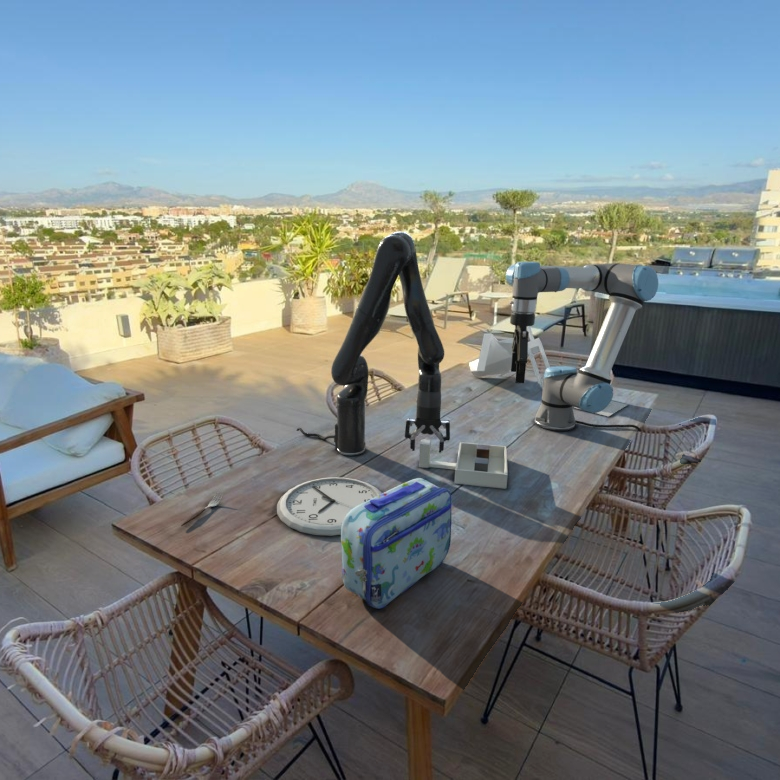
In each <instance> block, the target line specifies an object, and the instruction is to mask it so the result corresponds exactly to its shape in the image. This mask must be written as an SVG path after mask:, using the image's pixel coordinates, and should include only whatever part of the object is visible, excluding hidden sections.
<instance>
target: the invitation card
mask: <svg viewBox="0 0 780 780" xmlns="http://www.w3.org/2000/svg"><path fill="white" fill-rule="evenodd" d="M627 406H628V404H627V403H623V402H618V401H614V400H611V402H610V403H609V405H608V406H607V407H606V408H605V409H604V410H602V411H600V412H598V413H594V415H595V414H596V415H600V416H603V417H608V418H609V417H611V416H612V415H614V414H616V413H617V412H619V411H620V410H622V409H624V408H625V407H627ZM573 409H575V410H580V411H582V410H581V409H579V408H577V407H574V406H573Z"/></svg>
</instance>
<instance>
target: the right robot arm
mask: <svg viewBox="0 0 780 780" xmlns="http://www.w3.org/2000/svg"><path fill="white" fill-rule="evenodd" d="M505 280H506V283H507V284H508V285H509V286H511V287H512V299H511V301H509V304H510V305H511V311H512V312H511V313H510V317H509V318H510V320H509V324H511V325H512V326H514V330H513V331H514V332H513V338H514V339H513V345H512V351H513V352H514V353H513V352H512V363H511V370H510V373H515V379H514V383H515V384H525V381H526V379H525V378H526V368H527V363H528V362H529V361H528V358H527V356H528V342H529V335H528V334H529V332H528V331H527V326H530V327H534V325H535V324H536V323H535V322H536V314H535V313H536V312H537V303H538V294H539V293H558V292H563V291H565V290H566V289H581V290H582V291H585V292H593V293H598V294H602V295H606V296H608V300H609V302H610V305H609V307H608V310H607V312H606V314H605V317H604V319H603V321H602V324H601V327H600V329H599V332H598V333H597V334H598V335H597V336H596V339H595V342H594V344H593V346H592V349H591V351H590V354H589V356H588V358H587V361H586V364H585V366H583V367H580V368H579V369H577V367H574V366H566V365H565V366H564V365H557V366H550V367H549V368H547V369H546V368H545V370H544V375H543V378H542V379H543V380H542V382H543V389H542V392H541V402H540V405H539V407H538V410H537V411H536V413H535V417H534V424H535V425H536V426H537V427H539V428H542V429H544V430H549V431H556V432H567V431H572V430H574V429H575V428H576V424H578V425H583V426H587V427H591V428H592V427H593V428H604V429H605V428H607V429H609V428H610V429H611V428H633V429H636V430H637V431H640V432H641V431H642V429H641V427H639V426H638V425H635V424H596V423H588V422H584V421H580V420H577V419H576V418H575V417H576V416H575V413H574V407H577V408H579V409H578V410H580V409H581V410H580V411H583V412H587V413H590V414H595V413H598V412H600V411H602V410H604V409H605V408H606V407H607V406H608V405H609V403H610V402H611V401H613V398H614V388H613V386H612V385H611V383H612V378H611V375H610V373H611V371H612V369H613V368H614V367H613V366H614V364H615V362H616V360H617V357H618V355H619V352H620V350H621V347H622V345H623V342H624V340H625V337H626V335H627V332H628V330H629V328H630V326H631V323H632V320H633V318H634V316H635V313H636V311H637V310H640V309H642V308H643V306H644V304H645V302H649V301H651V300H652V299H654V297H655V296H656V294H657V292H658V289H659V277H658V274H657V272H656V270H655V269H654V268H653V267H652V266H648V265H643V264H630V263H618V262H612V263H609V262H608V263H600V264H599V263H598V264H597V263H596V264H586V265H584V266H565V265H564V266H559V265H541V263H540V262H537V261H518V262H516V264H512V265H510V266H509V267H508V268H507V270H506V272H505ZM528 357H529V356H528Z"/></svg>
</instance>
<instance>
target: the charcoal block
mask: <svg viewBox="0 0 780 780" xmlns="http://www.w3.org/2000/svg"><path fill="white" fill-rule="evenodd" d="M474 471H483V472H488V459H487V458H476V457H475V466H474Z"/></svg>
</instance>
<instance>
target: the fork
mask: <svg viewBox="0 0 780 780" xmlns="http://www.w3.org/2000/svg"><path fill="white" fill-rule="evenodd" d="M224 494H225V493H223V492H220V491H217V492H216V494H215V495H214V496H213V498H212V499H211V500H210V502H209V503H208V504H207V506H206V507H204V508H202V509H200V510H198V511H197V512H195V513H194V514H193V515H192V516H190V517H189V518H188V519H186V520H185V521H184V522H183V523H182V524H181V525H180V526H181V527H183V526H185V525H187V524H189V523H190V522H191V521H193V520H195V519H196V518H198V517H199V516H201V515H202V514H203V513H204V512H205V511H206V510H207V509H208V508H212V507H216V506H218V505H219V504H220V503H221V501H222V498H223V497H224Z"/></svg>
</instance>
